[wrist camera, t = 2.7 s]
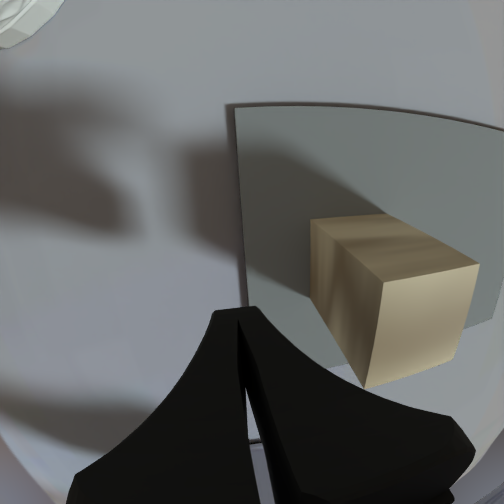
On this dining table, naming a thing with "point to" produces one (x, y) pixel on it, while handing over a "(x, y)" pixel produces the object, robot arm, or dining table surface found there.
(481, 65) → the dining table surface
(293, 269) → the rubber mat
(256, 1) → the dining table surface
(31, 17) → the white cup
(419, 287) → the maple block
